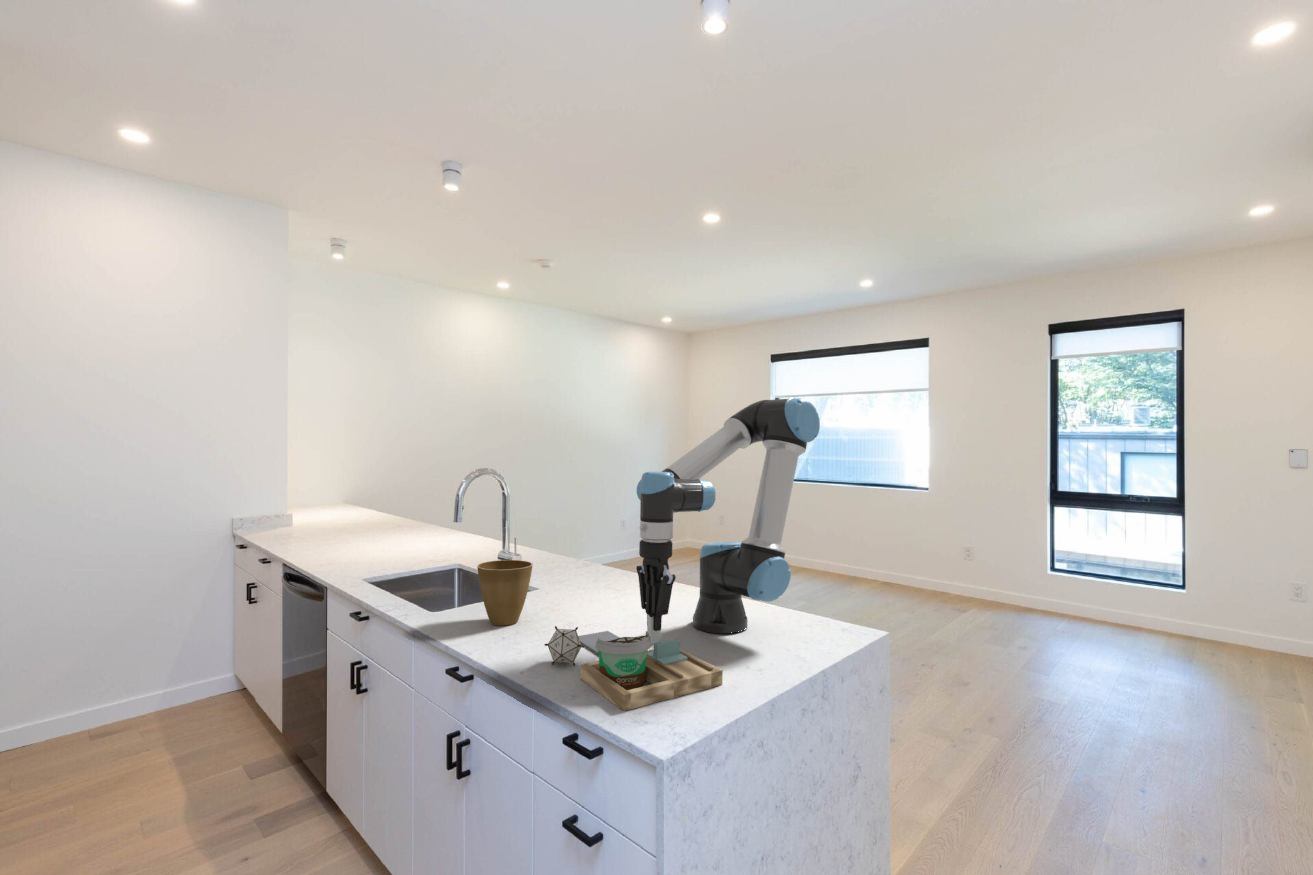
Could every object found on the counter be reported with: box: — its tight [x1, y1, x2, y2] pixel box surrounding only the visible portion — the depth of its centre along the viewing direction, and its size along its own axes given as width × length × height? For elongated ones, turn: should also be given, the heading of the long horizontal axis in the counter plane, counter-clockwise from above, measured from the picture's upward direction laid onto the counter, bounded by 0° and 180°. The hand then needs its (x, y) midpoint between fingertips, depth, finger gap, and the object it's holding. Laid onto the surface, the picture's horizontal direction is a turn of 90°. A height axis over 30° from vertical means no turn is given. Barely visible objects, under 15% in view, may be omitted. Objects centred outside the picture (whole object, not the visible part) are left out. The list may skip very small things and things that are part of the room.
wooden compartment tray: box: [580, 648, 724, 712], centre depth 127 cm, size 24×18×4 cm
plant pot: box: [476, 559, 533, 627], centre depth 167 cm, size 15×15×16 cm
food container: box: [595, 630, 653, 690], centre depth 124 cm, size 12×6×10 cm, turn 118°
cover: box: [647, 638, 688, 665], centre depth 133 cm, size 7×7×4 cm
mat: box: [578, 630, 621, 656], centre depth 149 cm, size 10×16×1 cm, turn 34°
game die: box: [543, 625, 586, 667], centre depth 137 cm, size 9×8×10 cm
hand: (653, 643), depth 137 cm, fingers closed
